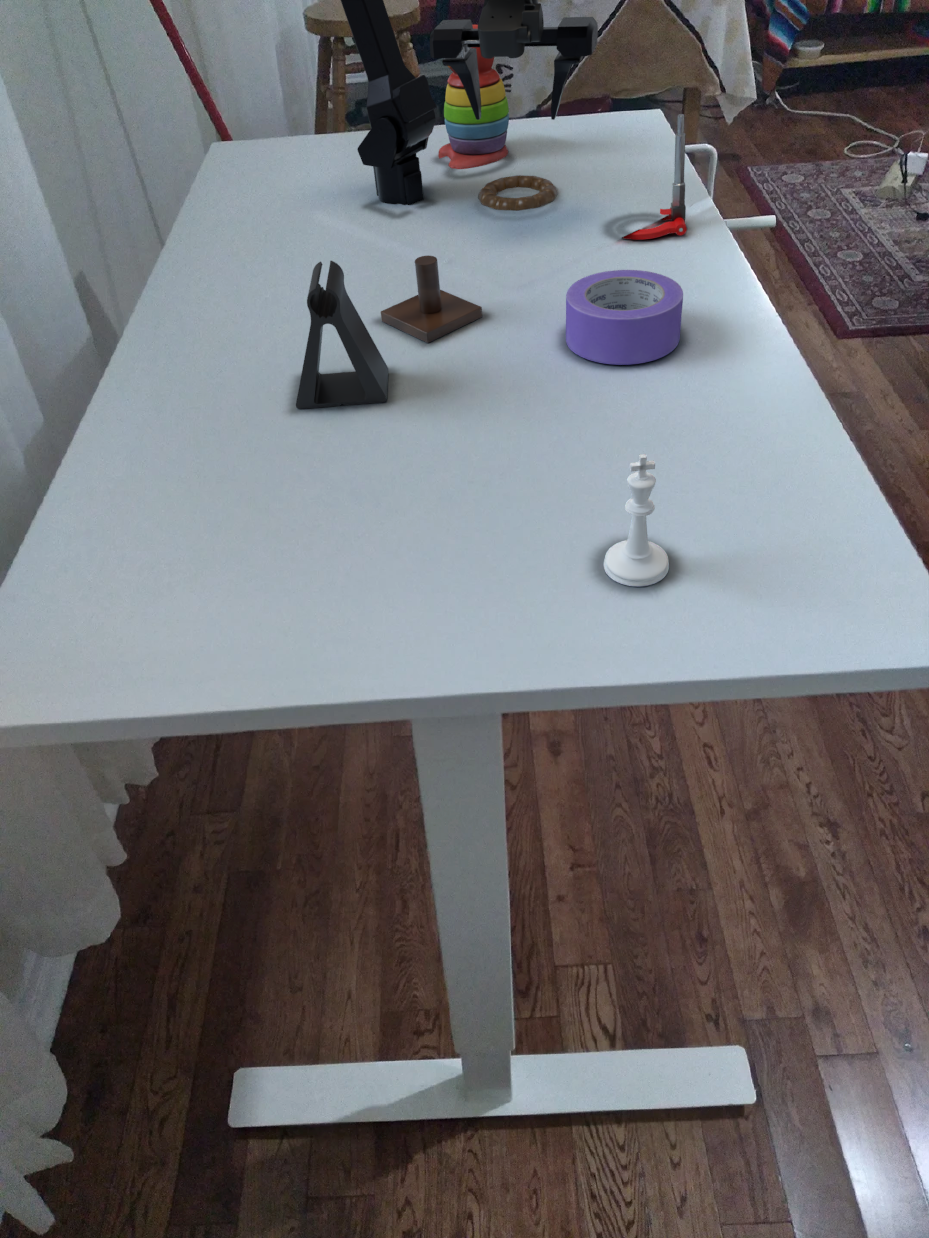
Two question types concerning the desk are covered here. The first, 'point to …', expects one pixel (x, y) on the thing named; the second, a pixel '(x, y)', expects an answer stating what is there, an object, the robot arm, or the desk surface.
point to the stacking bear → (468, 135)
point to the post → (430, 307)
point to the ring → (515, 204)
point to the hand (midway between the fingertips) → (515, 119)
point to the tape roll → (623, 316)
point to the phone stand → (358, 344)
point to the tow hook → (678, 196)
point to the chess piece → (638, 535)
